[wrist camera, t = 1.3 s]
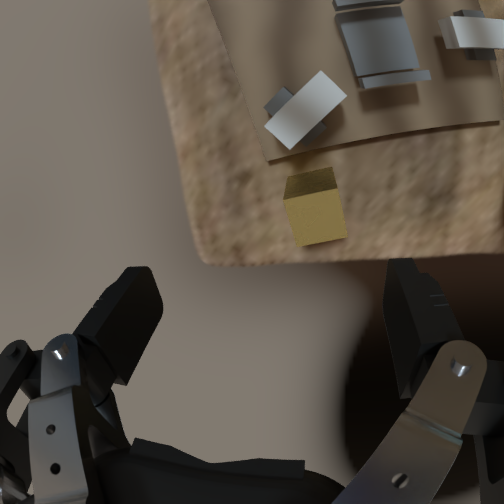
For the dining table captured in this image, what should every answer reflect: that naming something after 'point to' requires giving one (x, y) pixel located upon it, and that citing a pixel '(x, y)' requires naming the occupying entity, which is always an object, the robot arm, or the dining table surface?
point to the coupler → (314, 207)
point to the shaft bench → (319, 49)
